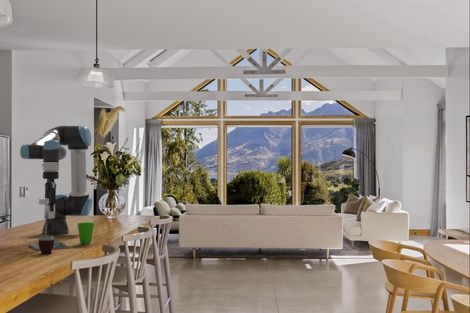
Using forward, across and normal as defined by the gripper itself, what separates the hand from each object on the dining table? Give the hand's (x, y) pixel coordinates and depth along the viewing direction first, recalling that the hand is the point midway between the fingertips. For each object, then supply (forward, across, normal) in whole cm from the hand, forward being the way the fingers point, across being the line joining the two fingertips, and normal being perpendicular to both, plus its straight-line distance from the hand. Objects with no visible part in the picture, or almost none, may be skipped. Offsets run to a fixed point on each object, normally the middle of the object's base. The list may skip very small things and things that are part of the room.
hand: (49, 217), depth 271 cm
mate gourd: (+15, +20, -6) cm, 25 cm away
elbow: (0, 0, -1) cm, 1 cm away
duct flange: (+15, 0, 0) cm, 15 cm away
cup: (+15, -3, +19) cm, 25 cm away
